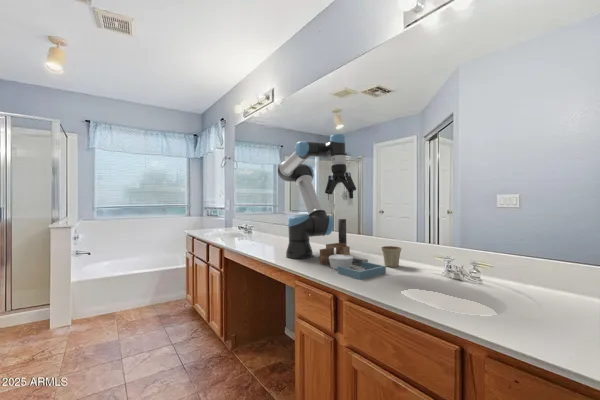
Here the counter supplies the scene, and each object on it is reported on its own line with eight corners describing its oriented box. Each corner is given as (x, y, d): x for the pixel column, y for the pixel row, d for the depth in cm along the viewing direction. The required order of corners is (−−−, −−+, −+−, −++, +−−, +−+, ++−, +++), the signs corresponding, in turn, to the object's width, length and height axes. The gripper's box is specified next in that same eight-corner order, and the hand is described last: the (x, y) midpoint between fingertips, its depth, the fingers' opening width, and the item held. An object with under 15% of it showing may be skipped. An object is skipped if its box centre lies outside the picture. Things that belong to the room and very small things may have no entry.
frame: (338, 273, 126) (337, 266, 126) (363, 267, 135) (363, 261, 135) (359, 279, 116) (359, 272, 116) (385, 273, 124) (385, 266, 124)
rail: (336, 260, 152) (336, 254, 152) (340, 259, 154) (340, 253, 154) (363, 266, 137) (363, 260, 136) (368, 265, 138) (367, 259, 138)
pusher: (317, 262, 145) (316, 220, 145) (341, 258, 154) (341, 218, 154) (324, 265, 140) (323, 221, 140) (349, 260, 149) (349, 219, 149)
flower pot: (390, 262, 144) (390, 245, 144) (406, 266, 136) (406, 247, 136) (377, 265, 139) (376, 247, 139) (392, 269, 131) (392, 250, 131)
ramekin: (358, 267, 135) (358, 256, 135) (341, 272, 128) (341, 260, 128) (340, 264, 144) (340, 253, 144) (324, 267, 137) (323, 256, 137)
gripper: (317, 167, 158) (319, 207, 157) (351, 160, 137) (353, 205, 137) (327, 168, 162) (329, 206, 161) (362, 161, 142) (364, 204, 141)
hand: (340, 206), depth 149 cm, fingers open, 13 cm apart
